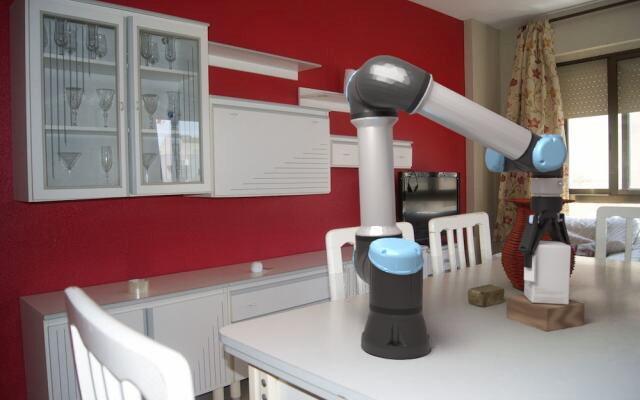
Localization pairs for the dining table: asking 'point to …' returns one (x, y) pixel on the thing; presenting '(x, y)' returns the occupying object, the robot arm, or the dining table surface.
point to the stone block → (486, 295)
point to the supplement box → (550, 274)
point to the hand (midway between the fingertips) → (544, 277)
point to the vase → (510, 253)
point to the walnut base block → (545, 314)
